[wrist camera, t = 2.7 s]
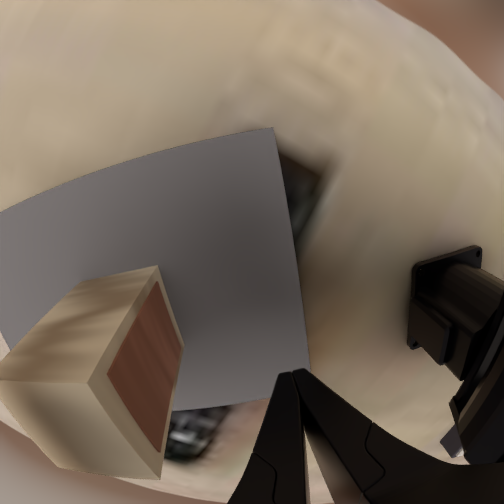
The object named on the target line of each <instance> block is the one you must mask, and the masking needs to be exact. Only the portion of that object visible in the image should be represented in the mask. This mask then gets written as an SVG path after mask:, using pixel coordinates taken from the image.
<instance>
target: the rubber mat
mask: <svg viewBox="0 0 504 504" xmlns="http://www.w3.org/2000/svg"><path fill="white" fill-rule="evenodd" d="M156 265H158V268H159V271H160V274H161V277H162V281H163V284H164V287H165V290H166V293H167V296H168V299H169V302H170V305H171V308H172V311H173V314H174V317H175V320H176V323H177V325H178V328H179V331H180V334H181V336H182V339H183V342H184V345H185V346H184V350H183V355H182V360H181V365H180V370H179V375H178V380H177V385H176V390H175V395H174V400H173V406H172V411H178V410H190V409H199V408H208V407H216V406H223V405H230V404H237V403H243V402H249V401H255V400H260V399H266V398H271V395H272V392H273V389H274V386H275V383H276V379H277V376H278V374H279V373H283V372H287V371H291V372H292V371H293V370H296V369H300V368H305V369H307V370H308V371H309V372H310V373H311V371H310V361H309V352H308V344H307V335H306V327H305V319H304V312H303V304H302V296H301V289H300V282H299V275H298V268H297V261H296V255H295V248H294V242H293V235H292V229H291V223H290V217H289V211H288V205H287V199H286V194H285V188H284V182H283V177H282V171H281V166H280V161H279V155H278V150H277V145H276V140H275V135H274V130H273V127H271V128H265V129H259V130H253V131H247V132H242V133H237V134H232V135H227V136H222V137H217V138H212V139H208V140H203V141H199V142H195V143H191V144H186V145H182V146H178V147H175V148H171V149H167V150H163V151H160V152H156V153H152V154H149V155H146V156H142V157H139V158H136V159H132V160H129V161H126V162H123V163H120V164H117V165H113V166H110V167H108V168H105V169H102V170H99V171H96V172H93V173H90V174H88V175H85V176H82V177H80V178H77V179H74V180H72V181H69V182H67V183H64V184H62V185H59V186H57V187H54V188H52V189H49V190H47V191H45V192H42V193H40V194H38V195H36V196H33V197H31V198H29V199H27V200H25V201H22V202H20V203H18V204H16V205H14V206H12V207H10V208H8V209H6V210H4V211H2V212H0V331H1V333H2V335H3V337H4V339H5V341H6V343H7V345H8V347H9V349H10V351H11V350H12V349H13V348H14V347H15V346H16V344H17V343H18V342H19V341H20V340H21V339H22V338H23V337H24V336H25V335H26V334H27V333H28V332H29V331H30V330H31V329H32V328H33V327H34V326H35V325H36V324H37V323H38V322H39V321H40V320H41V319H42V318H43V317H44V316H45V315H46V314H47V313H48V312H49V311H50V310H51V309H52V308H53V307H54V306H55V305H56V304H57V303H58V302H59V301H60V300H61V299H62V298H63V297H64V296H65V295H66V294H68V293H69V292H70V291H71V290H72V289H73V288H74V287H75V286H76V285H77V284H78V283H79V282H82V281H86V280H91V279H95V278H100V277H105V276H109V275H114V274H119V273H123V272H128V271H133V270H137V269H142V268H147V267H151V266H156Z"/></svg>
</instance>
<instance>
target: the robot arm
mask: <svg viewBox="0 0 504 504" xmlns="http://www.w3.org/2000/svg"><path fill="white" fill-rule="evenodd" d="M481 261H482V248H481V247H479V246H472V247H469V248H466V249H463V250H459V251H456V252H453V253H450V254H446V255H443V256H440V257H437V258H433V259H430V260H426V261H423V262H420V263H417V264H416V265H415V266H414V267H413V270H412V291H411V300H410V311H409V323H408V341H407V345H408V346H409V347H410V349H412V350H414V349H417V348H419V347H423V348H424V350H425V351H426V352H427V353H428V354H429V355H430V356H431V357H432V358H433V359H434V360H435V362H436V363H437V364H439V365H440V366H441V365H444V364H445V365H446V366H447V367H448V368H449V370H450V371H451V372H452V373H453V374H454V375H455V376H456V377H457V378H458V379H459V381H463V380H464V381H463V383H462V385H461V386H460V388H459V390H458V392H457V393H456V395H455V396H453V397H452V399H451V401H450V402H449V406H450V409H451V412H452V415H453V418H454V421H455V424H456V427H457V431H458V434H459V437H460V441H461V444H462V448H463V451H464V458H465V459H466V461H467V462H468V463H469V464H470V465H457V464H451V463H447V462H444V461H441V460H439V459H437V458H434V457H432V456H430V455H428V454H426V453H424V452H422V451H420V450H418V449H416V448H414V447H412V446H410V445H408V444H406V443H405V442H403V441H401V440H399V439H397V438H396V437H394V436H392V435H391V434H389V433H388V432H387V431H385V430H384V429H382V428H381V427H379V426H378V425H377V424H375V423H374V422H373V423H372V421H371V420H370V419H369V418H367V417H366V416H365V415H363V414H362V413H361V412H359V411H358V410H357V409H356V408H354V407H353V406H352V405H350V404H349V403H348V402H346V401H345V400H344V399H343V398H341V397H340V396H339V395H338V394H336V393H335V392H334V391H333V390H331V389H330V388H329V387H328V386H326V385H325V384H324V383H323V382H321V381H320V380H319V379H318V378H316V377H315V376H314V375H313V374H311V373H310V372H309V371H308V370H307V369H305V368H300V369H296V370H293V371H292V372H291V371H287V372H283V373H279V374H278V376H277V379H276V383H275V386H274V389H273V392H272V395H271V398H270V401H269V405H268V408H267V411H266V414H265V417H264V420H263V423H262V426H261V428H260V431H259V434H258V437H257V440H256V443H255V446H254V448H253V453H252V454H251V456H250V459H249V462H248V464H247V467H246V469H245V471H244V474H243V476H242V478H241V480H240V482H239V484H238V486H237V487H236V489H235V491H234V493H233V494H232V496H231V498H230V499H229V501H228V503H227V504H310V491H309V477H308V465H307V453H306V442H305V433H306V436H307V439H308V441H309V444H310V446H311V448H312V451H313V453H314V456H315V458H316V460H317V463H318V465H319V468H320V470H321V472H322V475H323V477H324V480H325V482H326V484H327V487H328V489H329V491H330V494H331V496H332V498H333V501H334V503H335V504H504V281H502V280H500V279H499V278H497V277H495V276H493V275H492V274H490V273H488V272H486V271H484V270H482V269H481ZM420 269H421V272H420V273H419V271H420ZM304 430H305V433H304Z"/></svg>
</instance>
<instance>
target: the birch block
mask: <svg viewBox="0 0 504 504" xmlns="http://www.w3.org/2000/svg"><path fill="white" fill-rule="evenodd" d="M184 346H185V345H184V342H183V339H182V336H181V334H180V331H179V328H178V325H177V323H176V320H175V317H174V314H173V311H172V308H171V305H170V302H169V299H168V296H167V293H166V290H165V287H164V284H163V281H162V277H161V274H160V271H159V268H158V265H156V266H151V267H147V268H142V269H137V270H133V271H128V272H123V273H119V274H114V275H109V276H105V277H100V278H95V279H91V280H86V281H82V282H79V283H78V284H77V285H76V286H75V287H74V288H73V289H72V290H71V291H70V292H69V293H68V294H66V295H65V296H64V297H63V298H62V299H61V300H60V301H59V302H58V303H57V304H56V305H55V306H54V307H53V308H52V309H51V310H50V311H49V312H48V313H47V314H46V315H45V316H44V317H43V318H42V319H41V320H40V321H39V322H38V323H37V324H36V325H35V326H34V327H33V328H32V329H31V330H30V331H29V332H28V333H27V334H26V335H25V336H24V337H23V338H22V339H21V340H20V341H19V342H18V343H17V344H16V346H15V347H14V348H13V349H12V350H11V351H10V352H9V353H8V354H7V355H6V356H5V358H4V359H3V360H2V361H1V362H0V399H1V401H2V402H3V404H4V405H5V406H6V408H7V409H8V410H9V412H10V413H11V414H12V416H13V417H14V418H15V420H16V421H17V422H18V423H19V425H20V426H21V427H22V428H23V429H24V431H25V432H26V433H27V434H28V435H29V437H30V438H31V439H32V440H33V441H34V442H35V443H36V445H37V446H38V447H39V448H40V449H41V450H42V451H43V452H44V453H45V454H46V455H47V456H48V457H49V458H50V459H51V460H52V461H53V462H54V463H55V464H56V465H57V466H58V467H61V468H65V469H70V470H75V471H80V472H86V473H92V474H98V475H105V476H114V477H123V478H134V479H151V480H160V478H161V471H162V465H163V458H164V452H165V446H166V440H167V434H168V428H169V422H170V417H171V411H172V406H173V400H174V395H175V390H176V385H177V380H178V375H179V370H180V365H181V360H182V355H183V350H184Z"/></svg>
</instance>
